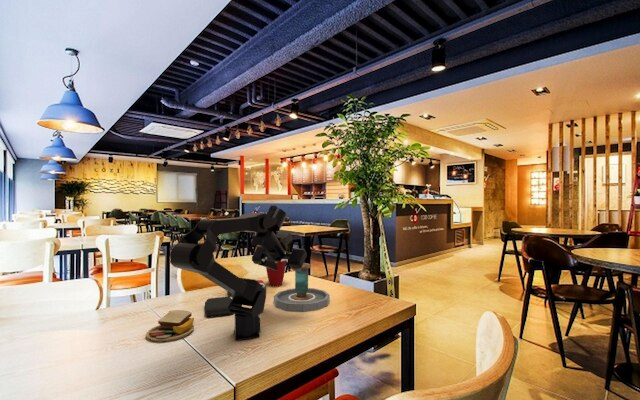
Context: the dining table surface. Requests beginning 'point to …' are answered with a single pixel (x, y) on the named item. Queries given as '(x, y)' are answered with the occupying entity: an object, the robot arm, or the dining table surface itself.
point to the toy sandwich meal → (172, 326)
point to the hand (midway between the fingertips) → (288, 270)
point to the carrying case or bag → (217, 307)
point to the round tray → (289, 304)
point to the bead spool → (302, 283)
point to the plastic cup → (276, 274)
